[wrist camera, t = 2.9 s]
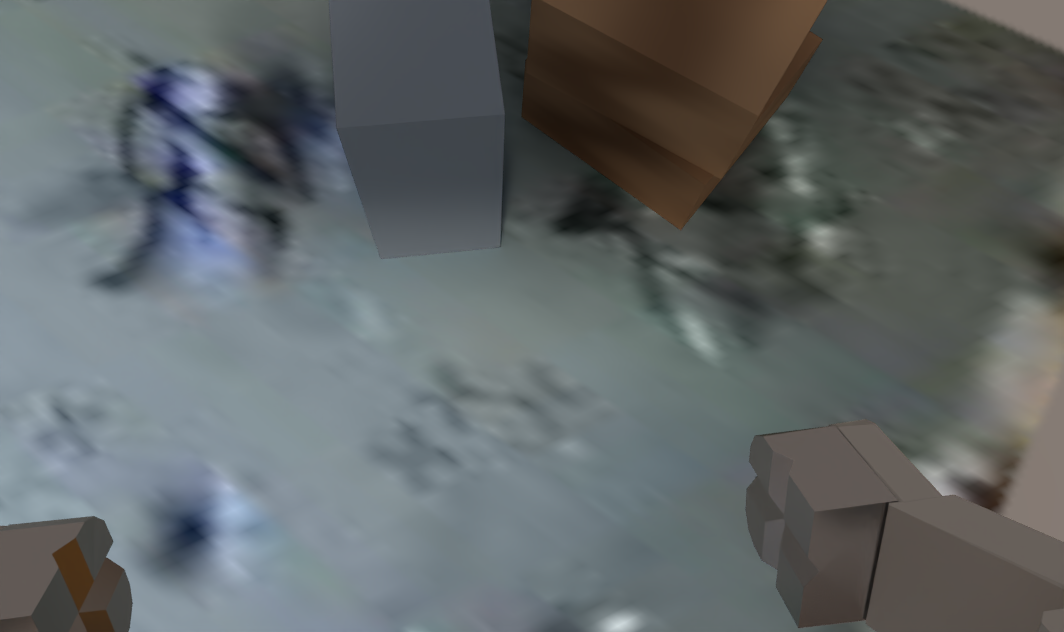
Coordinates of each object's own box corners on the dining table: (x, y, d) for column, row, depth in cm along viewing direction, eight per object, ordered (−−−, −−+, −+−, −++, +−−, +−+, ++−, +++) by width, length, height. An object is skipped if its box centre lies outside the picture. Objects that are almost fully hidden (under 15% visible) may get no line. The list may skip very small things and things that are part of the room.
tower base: (521, 120, 28) (525, 60, 25) (633, 0, 30) (651, -72, 27) (679, 233, 27) (705, 185, 24) (785, 100, 29) (822, 39, 26)
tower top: (526, 72, 25) (532, -5, 21) (632, -73, 27) (652, -164, 24) (721, 179, 24) (758, 116, 21) (814, 21, 26) (862, -60, 23)
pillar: (380, 259, 26) (336, 128, 18) (372, 153, 27) (328, -10, 20) (500, 247, 26) (504, 114, 19) (486, 143, 28) (486, -21, 20)
